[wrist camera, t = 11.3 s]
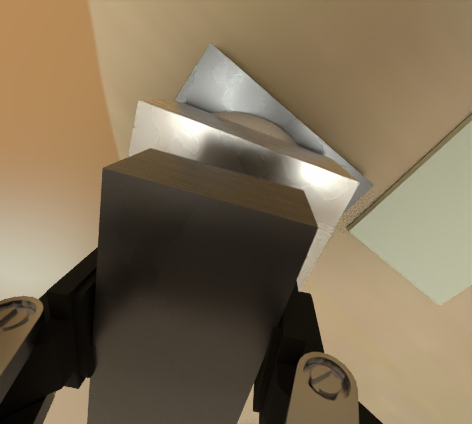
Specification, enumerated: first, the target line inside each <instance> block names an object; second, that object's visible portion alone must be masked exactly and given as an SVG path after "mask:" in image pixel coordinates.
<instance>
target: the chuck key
mask: <svg viewBox="0 0 472 424" xmlns="http://www.w3.org/2000/svg"><path fill="white" fill-rule="evenodd" d="M317 230H318V225H317V222H316V220H315V217H314V215H313V212H312V210H311V207H310V205H309V202H308V199H307V197H306V194H305V192H304V190H300V189H297V188H293V187H290V186H286V185H282V184H279V183H275V182H271V181H268V180H264V179H261V178H257V177H253V176H250V175H246V174H243V173H239V172H235V171H232V170H228V169H225V168H221V167H217V166H214V165H210V164H206V163H203V162H199V161H196V160H192V159H188V158H185V157H181V156H178V155H174V154H170V153H167V152H163V151H159V150H156V149H152V148H149V149H147V150H144V151H142V152H140V153H137V154H135V155H132V156H130V157H128V158H125V159H123V160H121V161H118V162H116V163H113V164H111V165H109V166H106V167H104V168H103V173H102V189H101V206H100V223H99V238H98V255H97V272H96V288H95V305H94V321H93V338H92V354H91V355H92V366H93V375H92V376H91V377H90V389H89V405H88V421H87V424H237V422H238V420H239V417H240V415H241V412H242V410H243V408H244V405H245V403H246V400H247V398H248V396H249V393H250V391H251V388H252V386H253V384H254V381H255V379H256V376H257V374H258V372H259V369H260V367H261V364H262V362H263V360H264V357H265V355H266V352H267V350H268V346H269V342H270V338H271V334H272V330H273V327H276V328H277V326H278V324H279V321H280V319H281V317H282V314H283V312H284V309H285V307H286V305H287V302H288V300H289V297H290V295H291V293H292V290H293V288H294V285H295V283H296V281H297V278H298V276H299V273H300V271H301V269H302V266H303V264H304V261H305V259H306V257H307V254H308V252H309V249H310V247H311V245H312V242H313V240H314V238H315V235H316V233H317Z"/></svg>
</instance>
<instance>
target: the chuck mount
mask: <svg viewBox="0 0 472 424" xmlns="http://www.w3.org/2000/svg"><path fill="white" fill-rule="evenodd" d="M175 100H177V101H179V102H182V103H185V104H187V105H190V106H193V107H195V108H198V109H201V110H203V111H206V112H209V113H217V112H225V111H227V112H242V113H249V114H252V115H256V116H259V117H262V118H264V119H266V120H268V121H270V122H272V123H274V124H275V125H277V126H278V127H280V128H281V129H283V130H284V131H285V132H286V133H287V134H288V135H290V136H291V137H292V139H293V140H294V141H295V142H296V143H297V144H298V145H299V147H302V148H305V149H307V150H310V151H313V152H315V153H318V154H321V155H323V156H326V157H329V158H331V159H334V160H335V161H336V162H337V163H338V164H339V165H340V166H341V167H343V168H344V169H345V170H346V171H347V172H348V173H349V174H350V175H352V176H353V177H354V178H355V179H356V180H357V181H358V182H359V185H358V187H357V189H356V191H355V192H354V194H353V196H352V198H351V200H350V201H349V203H348V205H347V207H346V209H345V210H344V212H345V211H347V210H348V209H349V208H350V207H351V206H352V205H353V204H354V203H355V202H356V201H357V200H358V199H359V198H360V197H361V196H362V195H364V194H365V193H366V192H367V191H368V190H369V189H370V188H371V187H372V186H373V184H372V183H371V182H370V181H368V180H367V179H366V178H365V177H364V176H363V175H362V174H360V173H359V172H358V171H357V170H356V169H355V168H354V167H352V166H351V165H350V164H349V163H348V162H347V161H346V160H344V159H343V158H342V157H341V156H340V155H339V154H338V153H336V152H335V151H334V150H333V149H332V148H331V147H330V146H328V145H327V144H326V143H325V142H324V141H323V140H321V139H320V138H319V137H318V136H317V135H316V134H315V133H313V132H312V131H311V130H310V129H309V128H308V127H307V126H305V125H304V124H303V123H302V122H301V121H300V120H299V119H297V118H296V117H295V116H294V115H293V114H292V113H291V112H289V111H288V110H287V109H286V108H285V107H284V106H282V105H281V104H280V103H279V102H278V101H277V100H276V99H274V98H273V97H272V96H271V95H270V94H269V93H268V92H266V91H265V90H264V89H263V88H262V87H261V86H260V85H258V84H257V83H256V82H255V81H254V80H253V79H252V78H250V77H249V76H248V75H247V74H246V73H245V72H244V71H242V70H241V69H240V68H239V67H238V66H237V65H235V64H234V63H233V62H232V61H231V60H230V59H229V58H227V57H226V56H225V55H224V54H223V53H222V52H221V51H219V50H218V49H217V48H216V47H215V46H214V45H213V44H211V43H210V44H209V46H208V48H207V49H206V51H205V52H204V54H203V56H202V57H201V59H200V60H199V62H198V64H197V65H196V67H195V68H194V70H193V71H192V73H191V75H190V76H189V78H188V79H187V81H186V83H185V84H184V86H183V87H182V89H181V91H180V92H179V94H178V95H177V97H176V99H175ZM344 212H343V213H344Z"/></svg>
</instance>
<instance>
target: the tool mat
mask: <svg viewBox="0 0 472 424" xmlns="http://www.w3.org/2000/svg"><path fill="white" fill-rule="evenodd" d="M347 230H348V231H349V232H350V233H351V234H352V235H354V236H355V237H356V238H357V239H358V240H360V241H361V242H362V243H363V244H365V245H366V246H367V247H368V248H369V249H371V250H372V251H373V252H374V253H376V254H377V255H378V256H379V257H380V258H382V259H383V260H384V261H385V262H386V263H388V264H389V265H390V266H391V267H393V268H394V269H395V270H396V271H397V272H399V273H400V274H401V275H402V276H404V277H405V278H406V279H407V280H408V281H410V282H411V283H412V284H413V285H415V286H416V287H417V288H418V289H419V290H421V291H422V292H423V293H424V294H426V295H427V296H428V297H429V298H430V299H432V300H433V301H434V302H435V303H437V304H438V305H439V306H441V305H442V304H443V303H445V302H446V301H448V300H449V299H451V298H452V297H454V296H455V295H457V294H458V293H460V292H461V291H463V290H464V289H466V288H467V287H469V286H470V285H472V114H471V115H470V116H469V117H468V118H467V119H466V120H465V121H463V122H462V123H461V124H460V125H459V126H458V127H457V128H456V129H455V130H454V131H452V132H451V133H450V134H449V135H448V136H447V137H446V138H445V139H444V140H443V141H442V142H440V143H439V144H438V145H437V146H436V147H435V148H434V149H433V150H432V151H431V152H429V153H428V154H427V155H426V156H425V157H424V158H423V159H422V160H421V161H420V162H419V163H417V164H416V165H415V166H414V167H413V168H412V169H411V170H410V171H409V172H408V173H406V174H405V175H404V176H403V177H402V178H401V179H400V180H399V181H398V182H397V183H395V184H394V185H393V186H392V187H391V188H390V189H389V190H388V191H387V192H386V193H385V194H383V195H382V196H381V197H380V198H379V199H378V200H377V201H376V202H375V203H374V204H372V205H371V206H370V207H369V208H368V209H367V210H366V211H365V212H364V213H363V214H362V215H360V216H359V217H358V218H357V219H356V220H355V221H354V222H353V223H352V224H351V225H349V226H348V227H347Z"/></svg>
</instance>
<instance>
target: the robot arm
mask: <svg viewBox="0 0 472 424" xmlns="http://www.w3.org/2000/svg"><path fill="white" fill-rule="evenodd" d="M97 255H98V247H97V248H96V249H95V250H94V251H93V252H91V253H90V254H89V255H88V256H87V257H86V258H84V259H83V260H82V261H81V262H80V263H79V264H77V265H76V266H75V267H74V268H73V269H72V270H71V271H69V272H68V273H67V274H66V275H65V276H64V277H62V278H61V279H60V280H59V281H58V282H57V283H55V284H54V285H53V286H52V287H51V288H50V289H49V290H47V292H46V293H45V294H44V295H43V296H42V297H40V298H39V299H36V298H34V297H27V296H22V297H13V298H9V299H4V300H2V301H0V424H43V422H44V420H45V417H46V415H47V412H48V411H49V408H50V406H51V404H52V401H53V399H54V397H55V393H56V391H58V390H60V389H62V387H63V386H67V387H72V388H77V389H79V387H80V386H81V384H82V383H83V381H84V380H85V378H86V377H87V378H90V377H91V376H92V375H93V366H92V355H91V354H92V338H93V321H94V305H95V288H96V272H97ZM253 411H254V412H259V424H383V423H382V422H381V421H379V420H378V419H377V418H376V417H375V416H374V415H373V414H372V413H371V412H370V411H369V410H367V409H366V408H365V407H364V406H363V405H362V404H361V403H360V402H359V401H358V389H357V384H356V381H355V379H354V377H353V375H352V373H351V372H350V371H349V369H348V368H347V367H346V366H345V365H344V364H343V363H342V362H340V361H339V360H338V359H336V358H334V357H333V356H331V355H329V354H325V353H324V349H323V345H322V340H321V336H320V331H319V327H318V322H317V318H316V313H315V309H314V304H313V300H312V296H311V294H310V293H304V292H299V291H298V285H297V281H296V283H295V285H294V288H293V290H292V293H291V295H290V297H289V300H288V302H287V305H286V307H285V309H284V312H283V314H282V317H281V319H280V321H279V324H278V326H277V328H276V327H273V330H272V334H271V338H270V342H269V346H268V350H267V352H266V355H265V357H264V360H263V362H262V364H261V367H260V369H259V372H258V374H257V376H256V379H255V381H254V397H253Z"/></svg>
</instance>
